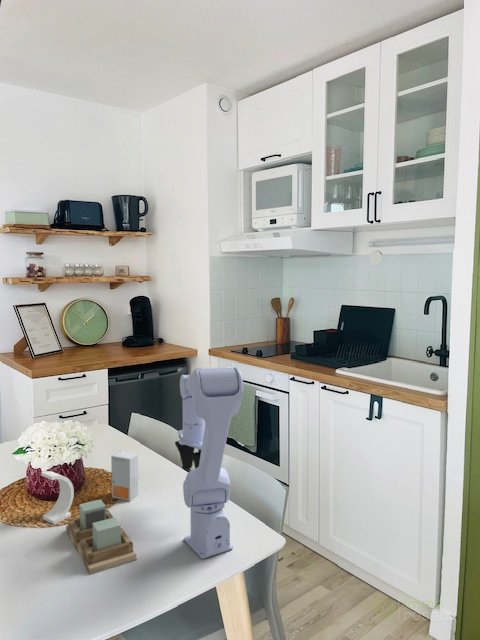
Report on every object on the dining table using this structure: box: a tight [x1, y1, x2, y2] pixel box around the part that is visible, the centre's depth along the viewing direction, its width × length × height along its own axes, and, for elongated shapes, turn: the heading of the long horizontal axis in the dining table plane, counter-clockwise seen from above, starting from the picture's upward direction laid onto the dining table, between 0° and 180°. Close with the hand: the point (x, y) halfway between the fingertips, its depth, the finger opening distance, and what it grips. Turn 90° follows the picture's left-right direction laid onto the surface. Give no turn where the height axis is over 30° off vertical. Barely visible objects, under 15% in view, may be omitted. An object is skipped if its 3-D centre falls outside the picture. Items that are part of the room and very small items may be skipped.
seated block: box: [78, 499, 107, 531], centre depth 119 cm, size 4×5×6 cm
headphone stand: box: [40, 470, 75, 525], centre depth 128 cm, size 5×6×12 cm
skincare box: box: [110, 450, 139, 502], centre depth 139 cm, size 6×4×12 cm
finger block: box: [92, 516, 122, 552], centre depth 111 cm, size 4×5×6 cm
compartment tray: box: [65, 509, 137, 575], centre depth 115 cm, size 20×10×3 cm, turn 32°
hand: (194, 473), depth 130 cm, fingers open, 7 cm apart
